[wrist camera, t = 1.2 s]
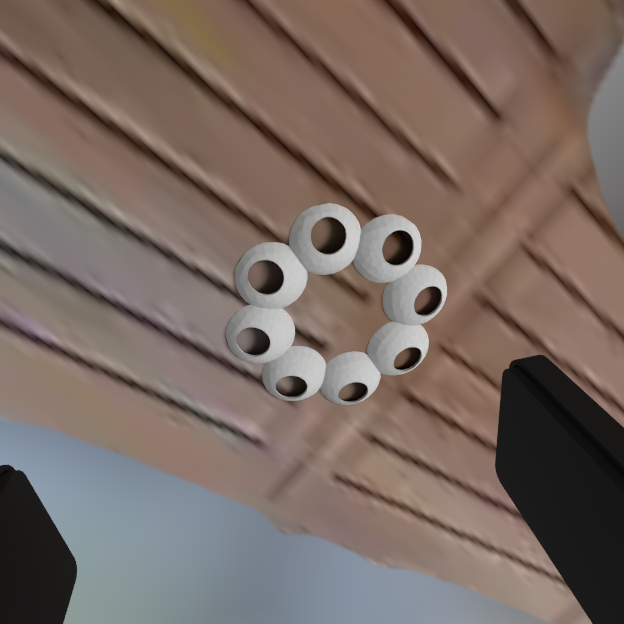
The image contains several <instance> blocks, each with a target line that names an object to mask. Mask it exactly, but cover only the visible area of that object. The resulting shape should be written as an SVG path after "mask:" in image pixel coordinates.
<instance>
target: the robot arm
mask: <svg viewBox="0 0 624 624" xmlns="http://www.w3.org/2000/svg"><path fill="white" fill-rule="evenodd" d="M495 468H496V473H497V476H498V478H499V481H500V483H501V484H502V486H503V487H504V489H505V490H506V492H507V493H508V495H509V497H510V498H511V500H512V501H513V503H514V504H515V506H516V507H517V509H518V510H519V512H520V513H521V515H522V516H523V518H524V519H525V521H526V522H527V524H528V526H529V527H530V529H531V530H532V532H533V533H534V535H535V536H536V538H537V539H538V541H539V542H540V544H541V545H542V547H543V548H544V550H545V552H546V553H547V555H548V556H549V558H550V559H551V561H552V562H553V564H554V565H555V567H556V568H557V570H558V571H559V573H560V574H561V576H562V578H563V579H564V581H565V582H566V584H567V585H568V587H569V588H570V590H571V591H572V593H573V594H574V596H575V597H576V599H577V600H578V602H579V603H580V605H581V607H582V608H583V610H584V611H585V613H586V614H587V616H588V617H589V619H590V620H591V622H592V623H593V624H624V428H623V427H622V426H621V425H620V424H619V423H618V422H617V421H616V420H615V419H614V418H612V417H611V416H610V415H609V414H608V413H607V412H606V411H605V410H604V409H603V408H602V407H600V406H599V405H598V404H597V403H596V402H595V401H594V400H593V399H592V398H591V397H589V396H588V395H587V394H586V393H585V392H584V391H583V390H582V389H581V388H580V387H579V386H577V385H576V384H575V383H574V382H573V381H572V380H571V379H570V378H569V377H568V376H567V375H565V374H564V373H563V372H562V371H561V370H560V369H559V368H558V367H557V366H556V365H555V364H553V363H552V362H551V361H550V360H549V359H548V358H547V357H545V356H544V355H536V356H532V357H527V358H522V359H517V360H514V361H512V362H511V363H510V366H509V369H506V370H504V372H503V375H502V387H501V399H500V411H499V424H498V436H497V449H496V461H495ZM76 576H77V565H76V561H75V558H74V557H73V555H72V553H71V551H70V550H69V548H68V546H67V545H66V543H65V541H64V540H63V538H62V536H61V535H60V533H59V531H58V529H57V528H56V526H55V524H54V523H53V521H52V519H51V517H50V516H49V514H48V512H47V511H46V509H45V507H44V506H43V504H42V502H41V501H40V499H39V497H38V496H37V494H36V492H35V491H34V489H33V487H32V485H31V484H30V482H29V480H28V479H27V477H26V475H25V474H24V473H23V472H22V471H20V470H17V471H15V469H14V468H13V467H11V466H10V465H2V466H0V624H63V622H64V619H65V615H66V612H67V608H68V605H69V602H70V598H71V595H72V591H73V588H74V584H75V581H76Z"/></svg>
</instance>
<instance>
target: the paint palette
mask: <svg viewBox="0 0 624 624" xmlns="http://www.w3.org/2000/svg"><path fill="white" fill-rule="evenodd" d="M324 217H333V218H336V219H338V220H339V221H340V222H341V223H342V224H343V226H344V228H345V232H346V239H345V242H344V244H343V246H342V247H341V248H340V249H339V250H338V251H337V252H335V253H332V254H324V253H320V252H319V251H317V250H316V249H315V248H314V247H313V245H312V242H311V230H312V227H313V226H314V225H315V223H316V222H317V221H319V220H320V219H322V218H324ZM397 230H403V231H406V232H408V233H409V234H410V236H411V238H412V240H413V249H412V252H411V255H410V256H409V258H408V259H407V260H406V261H405V262H403V263H402V264H399V265H391V264H389V263H387V262H386V261H385V260H384V257H383V254H382V246H383V243H384V241H385V239H386V238H387V237H388V235H389V234H391V233H392V232H394V231H397ZM420 252H421V238H420V233H419V231H418V229H417V228H416V226H415V225H414V224H413V223H411V222H410V221H409V220H407V219H406V218H404V217H402V216H400V215H393V214H390V215H382V216H380V217H377V218H374V219H373V220H371V221H370V222H368V223H367V224H365V226H364V227H363V228H362V229H361V228H360V225H359V222H358V220H357V219H356V217H355V216H354V215H353V214H352V213H351V212H350V211H349V210H348V209H346V208H344V207H342V206H340V205H337V204H331V203H327V204H321V205H317V206H313V207H310V208H308V209H307V210H306V211H304V212H303V213H301V214H300V216H299V217H298V218H297V219H296V220H295V222H294V224H293V226H292V228H291V230H290V236H289V246H287V245H285V244H283V243H276V242H268V243H262V244H259V245H257V246H254V247H252V248H251V249H249V250H248V251H247V252H245V254H244V255H243V257H242V258H241V260H240V261H239V263H238V265H237V266H236V269H235V285H236V288H237V290H238V292H239V294H240V295H241V296H242V298H243V299H244V300H245V301H246V302H248V303H249V304H251V305H248V306H245V307H243V308H242V309H240V310H239V311H237V312H236V313H235V314H234V315H233V317H232V318H231V319H230V321H229V323H228V325H227V329H226V338H227V342H228V345H229V348H230V350H231V351H232V352H233V353H234V354H235V355H236V356H237V357H239V358H241V359H242V360H244V361H247V362H251V363H266V364H265V366H264V368H263V374H262V378H263V383H264V385H265V387H266V389H267V390H268V391H269V392H270V394H272V395H273V396H275V397H277V398H279V399H282V400H287V401H297V400H302V399H305V398H307V397H310V396H311V395H313V394H314V393H316V392H317V391H318V390H319V389H320V390H321V392H322V394H323V395H324V396H325V397H326V398H327V399H328V400H330V401H331V402H334V403H337V404H343V405H349V404H355V403H358V402H361V401H363V400H364V399H366V398H368V397H369V396H370V395H371V394H372V393H373V392H374V391H375V389H376V388H377V386H378V384H379V381H380V373H382V374H385V375H400V374H404V373H406V372H409V371H411V370H412V369H414V368H415V367H416V366H417V365H419V364H420V363H421V361H422V360H423V358H424V357H425V355H426V353H427V350H428V345H429V339H428V335H427V333H426V331H425V329H424V328H423V327H422V326H421V325H420V324H423V323H425V322H427V321H429V320H430V319H432V318H433V317H434V316H435V315H436V314H437V313H438V312H439V311H440V310H441V308H442V307H443V305H444V302H445V300H446V297H447V286H446V280H445V279H444V277H443V275H442V274H441V273H440V272H439V271H438V270H437V269H435V268H433V267H431V266H428V265H422V264H420V265H415V264H416V262H417V260H418V258H419V255H420ZM260 260H270V261H273V262H275V263H276V264H278V265H279V267H280V268H281V269H282V271H283V274H284V281H283V284H282V286H281V287H280V289H279V290H277V291H276V292H274V293H271V294H262V293H259V292H257V291H256V290H254V289H253V288H252V287H251V286H250V283H249V281H248V271H249V269H250V267H251V266H252V265H253V264H254V263H255V262H257V261H260ZM352 261H353V262H354V265H355V267H356V269H357V270H358V272H359V273H360V274H361V275H362V276H363V277H364V278H366V279H368V280H370V281H373V282H378V283H387V282H388V284H387V286H386V287H385V290H384V293H383V308H384V311H385V313H386V315H387V316H388V318H389V319H391V320H392V321H393V322H390V323H387V324H385V325H384V326H382V327H381V328H379V329H378V330H377V331H376V332H375V333H374V335H373V336H372V338H371V339H370V341H369V344H368V348H367V354H365V353H362V352H346V353H343V354H340V355H338V356H336V357H334V358H333V359H331V360H330V361H329V362H328V363H327V364H326V363H325V361H324V359H323V358H322V356H321V355H320V354H319V353H318V352H316V351H315V350H313V349H311V348H308V347H303V346H292V347H291V345H292V343H293V341H294V336H295V327H294V323H293V321H292V318H291V317H290V316H289V315H288V313H287V312H286V311H284V310H283V309H282V308H283V307H286V306H288V305H290V304H291V303H293V302H294V301H295V300H296V299H297V298H298V297H299V296H300V295H301V294H302V292H303V290H304V288H305V286H306V282H307V271H308V272H311V273H313V274H320V275H325V274H332V273H335V272H338V271H340V270H342V269H343V268H345V267H346V266H348V265H349V264H350V263H351V262H352ZM430 286H435V287H438V288H439V289H440V292H441V300H440V303H439V305H438V306H437V308H436V309H435V310H434V311H433V312H431V313H430V314H427V315H419V314H417V313H416V312H415V310H414V302H415V299H416V297H417V295H418V294H419V293H420V292H421V291H422V290H423V289H425V288H427V287H430ZM250 327H253V328H258V329H261V330H263V331H264V332H265V333H266V334H267V335H268V336H269V338H270V346H269V348H268V350H267V351H265V352H264V353H262V354H259V355H250V354H247V353H245V352H243V351H242V350H241V349H240V348H239V347H238V345H237V343H236V338H237V335H238V334H239V333H240V332H241V331H242V330H243V329H245V328H250ZM409 347H417V348H419V349H420V351H421V354H420V358H419V360H418V361H417V362H416V363H415V364H414V365H413V366H411V367H410V368H408V369H405V370H398V369H396V368H395V367H394V359H395V357H396V356H397V355H398V354H399V353H400V352H401V351H402V350H404V349H406V348H409ZM286 376H297V377H300V378H302V379H303V380H305V382H306V383H307V389H306V391H305V392H304V393H303V394H301V395H299V396H296V397H287V396H283V395H281V394H280V393H278V391H277V390H276V383H277V382H278V381H279V380H280V379H281V378H283V377H286ZM353 382H360V383H363V384H365V385H366V386H367V392H366V394H365V395H364V396H363V397H362V398H360V399H358V400H356V401H350V402H349V401H343V400H341V399H340V398H339V397H338V394H339V391H340V390H341V389H342V388H343V387H344V386H345V385H347V384H350V383H353Z"/></svg>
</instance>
